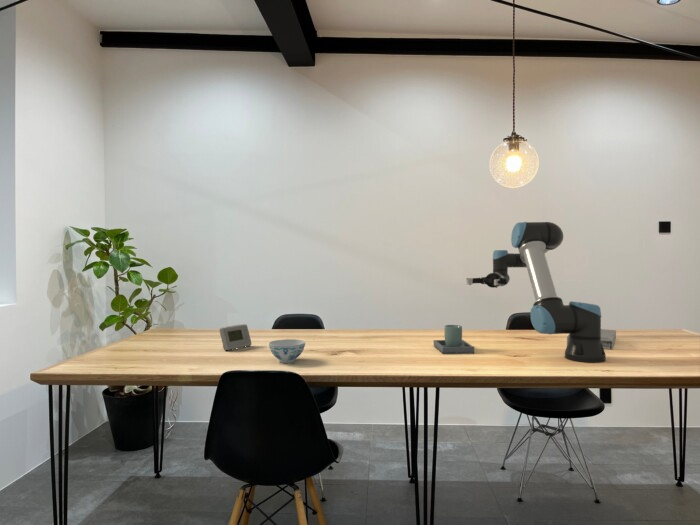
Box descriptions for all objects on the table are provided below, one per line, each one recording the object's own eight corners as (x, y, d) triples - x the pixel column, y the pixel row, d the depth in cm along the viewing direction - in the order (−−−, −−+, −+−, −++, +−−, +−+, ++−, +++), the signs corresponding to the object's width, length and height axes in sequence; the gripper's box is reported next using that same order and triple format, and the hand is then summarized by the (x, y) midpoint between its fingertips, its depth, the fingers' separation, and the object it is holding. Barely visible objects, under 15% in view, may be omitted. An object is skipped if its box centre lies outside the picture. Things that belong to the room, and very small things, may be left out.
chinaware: (265, 358, 200) (265, 340, 200) (300, 355, 205) (300, 338, 205) (272, 366, 186) (272, 347, 186) (309, 363, 191) (309, 344, 191)
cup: (457, 350, 210) (457, 327, 210) (441, 348, 215) (441, 326, 215) (464, 347, 216) (464, 325, 216) (449, 345, 221) (449, 324, 221)
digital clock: (224, 352, 215) (224, 328, 215) (215, 349, 222) (215, 326, 222) (255, 347, 226) (255, 325, 226) (246, 344, 233) (245, 323, 233)
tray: (474, 353, 207) (474, 347, 207) (442, 354, 206) (442, 347, 206) (462, 345, 225) (462, 339, 225) (433, 346, 224) (433, 340, 224)
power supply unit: (566, 347, 222) (566, 336, 222) (575, 336, 250) (575, 327, 250) (612, 351, 212) (612, 340, 212) (616, 339, 240) (616, 330, 240)
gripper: (519, 288, 239) (506, 290, 221) (471, 286, 253) (456, 289, 235) (519, 273, 239) (506, 274, 221) (471, 272, 253) (456, 274, 235)
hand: (480, 282), depth 228 cm, fingers open, 13 cm apart
